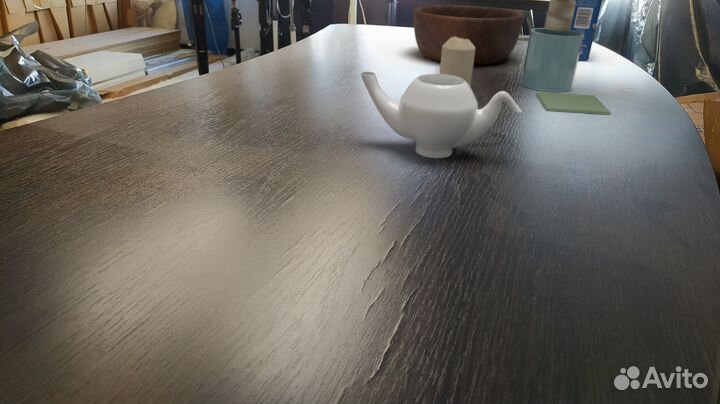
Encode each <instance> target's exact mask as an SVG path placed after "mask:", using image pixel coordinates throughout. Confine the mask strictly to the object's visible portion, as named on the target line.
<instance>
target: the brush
mask: <svg viewBox="0 0 720 404" xmlns="http://www.w3.org/2000/svg"><path fill="white" fill-rule="evenodd" d="M575 5H576V1H575V0H549V4H548V9H547V15H546V20H545V25H544V28H545V29H547V30H552V31H570V28H571V24H572V19H573V14H574V9H575Z"/></svg>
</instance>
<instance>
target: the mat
mask: <svg viewBox="0 0 720 404" xmlns="http://www.w3.org/2000/svg"><path fill="white" fill-rule="evenodd" d="M535 95H536V97H537V98H538V99H539V101H540V103H541V105H542V106H543V107H544V109H545V111H548V112H560V113H561V112H562V113H578V114H590V115H591V114H592V115H593V114H594V115H608V116H609V115H611V110H609V109H608V107H606V106H605V105H604V104H603V103H602V101H600V99H598V98H597V97H596V96H595V95H594V94H578V93H564V92H545V91H536V94H535Z"/></svg>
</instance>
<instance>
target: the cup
mask: <svg viewBox="0 0 720 404" xmlns="http://www.w3.org/2000/svg"><path fill="white" fill-rule="evenodd" d="M583 36H584V34H583V33H582V32H578V31H573V30H570V31H552V30H547V29H545V27H537V28H532V29H530V30H529V35H528V41H527V47H526V53H525V59H524V64H523V70H522V76H521V86H523V87H525V88H527V89H529V90H530V89H531V90H534V91H537V92H547V93H564V92H565V93H566V92H569V91H571V90H572V87H573V84H574V81H575V76H576V72H577V67H578V63H579V60H578V59H579V54H580V50H581V45H582V41H583Z"/></svg>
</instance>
